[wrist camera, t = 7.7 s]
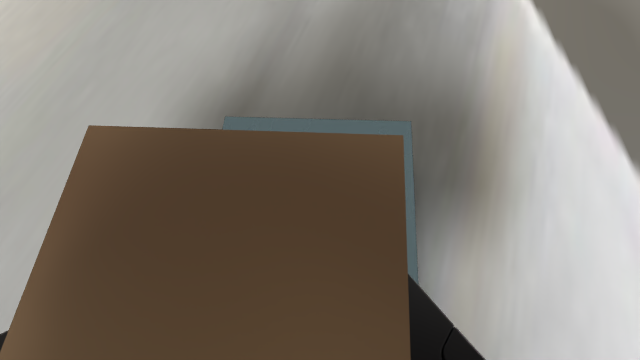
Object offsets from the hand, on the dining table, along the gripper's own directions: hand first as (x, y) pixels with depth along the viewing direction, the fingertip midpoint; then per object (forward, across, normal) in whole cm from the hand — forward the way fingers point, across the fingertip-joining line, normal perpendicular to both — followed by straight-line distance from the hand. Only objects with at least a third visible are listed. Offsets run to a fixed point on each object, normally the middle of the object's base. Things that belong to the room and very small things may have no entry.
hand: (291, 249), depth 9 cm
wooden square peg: (+4, 0, +6) cm, 7 cm away
